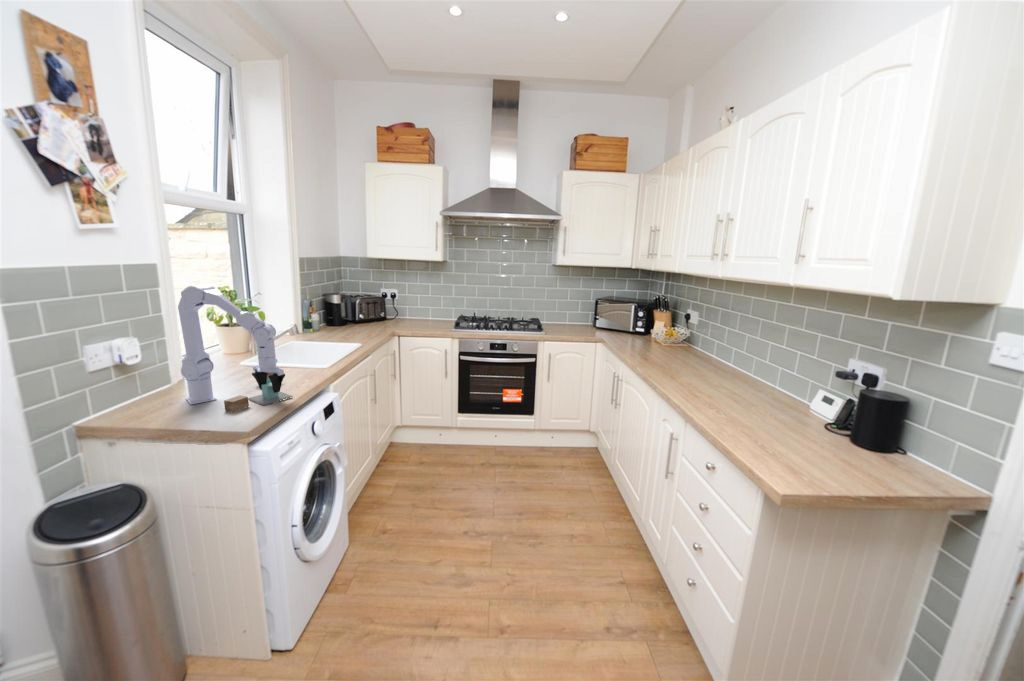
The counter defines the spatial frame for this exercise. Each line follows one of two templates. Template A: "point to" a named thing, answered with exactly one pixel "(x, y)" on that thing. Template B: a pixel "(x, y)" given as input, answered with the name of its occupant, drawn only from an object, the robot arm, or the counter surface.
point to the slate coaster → (264, 401)
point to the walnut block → (236, 403)
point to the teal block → (268, 391)
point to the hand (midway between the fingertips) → (270, 390)
